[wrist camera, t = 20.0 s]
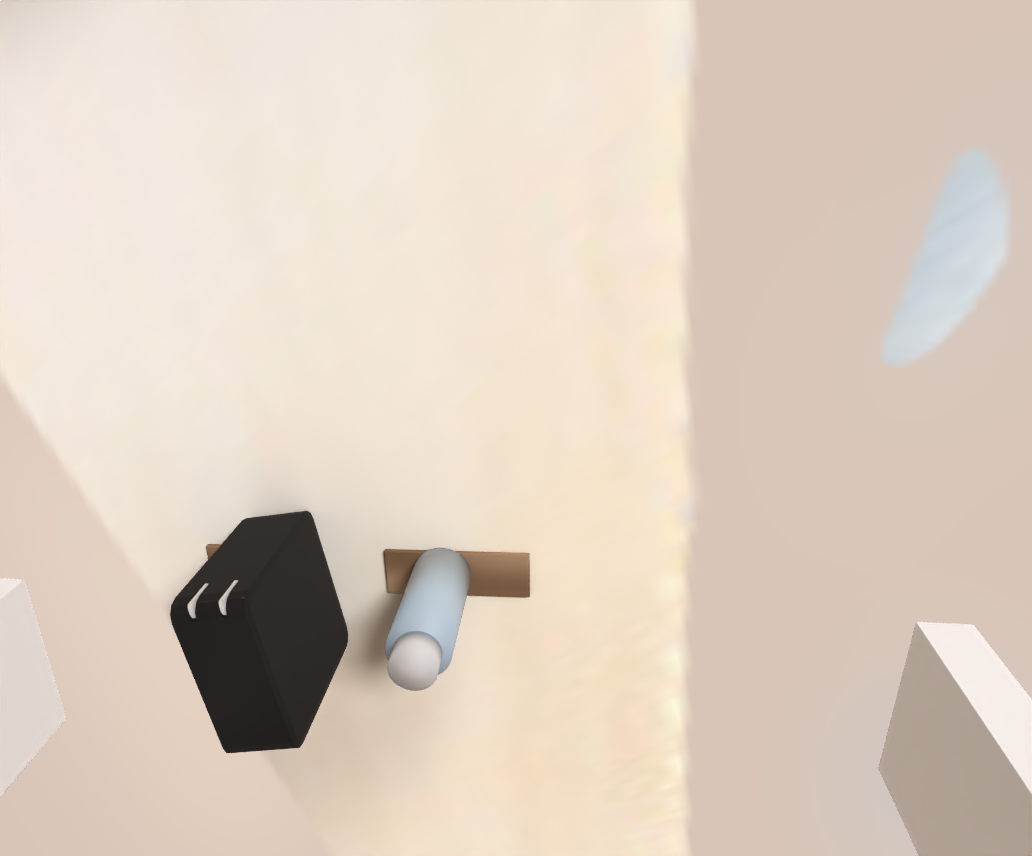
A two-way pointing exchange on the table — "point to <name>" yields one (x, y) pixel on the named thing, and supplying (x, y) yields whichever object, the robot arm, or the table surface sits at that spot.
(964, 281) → the table surface
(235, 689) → the electronic device
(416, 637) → the marker peg
